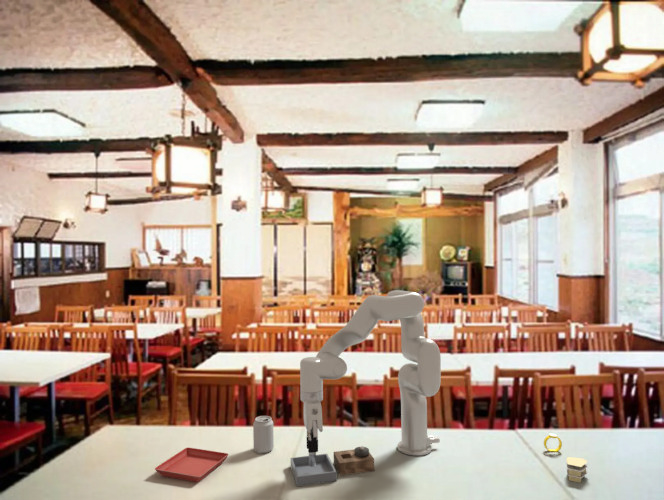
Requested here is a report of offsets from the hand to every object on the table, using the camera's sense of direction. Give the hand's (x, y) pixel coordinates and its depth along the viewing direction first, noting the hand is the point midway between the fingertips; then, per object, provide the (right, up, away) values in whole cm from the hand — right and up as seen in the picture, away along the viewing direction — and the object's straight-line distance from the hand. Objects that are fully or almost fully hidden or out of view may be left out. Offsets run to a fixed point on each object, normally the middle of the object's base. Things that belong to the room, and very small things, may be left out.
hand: (312, 449), depth 153 cm
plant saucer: (-41, -9, +5) cm, 43 cm away
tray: (0, -8, 0) cm, 8 cm away
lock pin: (0, -5, 0) cm, 5 cm away
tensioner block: (+14, -8, +4) cm, 17 cm away
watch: (+88, -7, +14) cm, 89 cm away
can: (-19, -9, +19) cm, 28 cm away
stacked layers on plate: (+86, -7, -5) cm, 86 cm away
